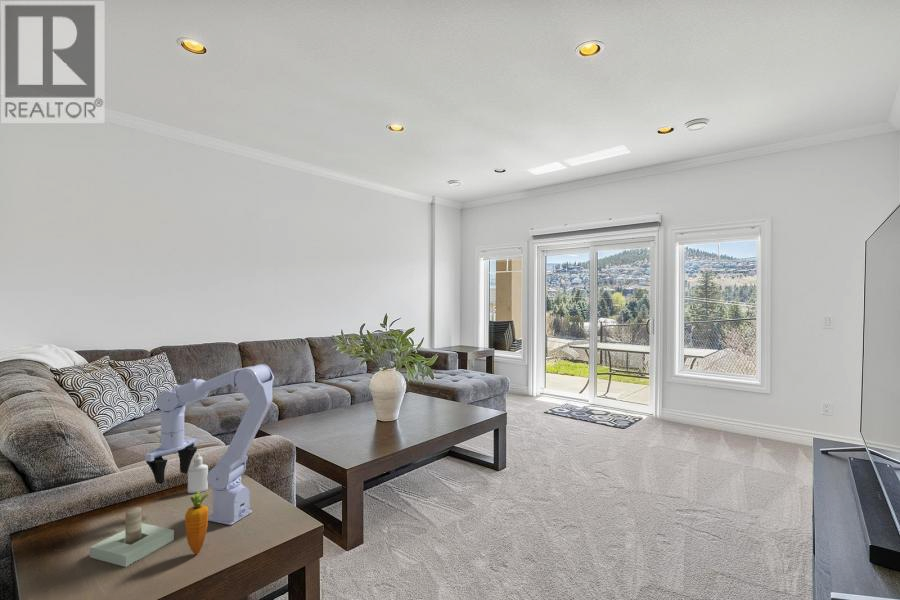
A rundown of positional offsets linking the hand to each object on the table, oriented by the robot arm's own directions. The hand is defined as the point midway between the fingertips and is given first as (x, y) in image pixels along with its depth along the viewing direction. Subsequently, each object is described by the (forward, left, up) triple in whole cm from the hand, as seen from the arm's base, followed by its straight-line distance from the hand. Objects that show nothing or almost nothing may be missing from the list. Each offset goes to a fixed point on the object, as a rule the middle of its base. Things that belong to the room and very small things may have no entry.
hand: (172, 477), depth 124 cm
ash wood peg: (-7, +16, -10) cm, 20 cm away
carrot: (-24, +13, -11) cm, 29 cm away
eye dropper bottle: (+6, -14, -11) cm, 19 cm away
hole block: (-7, +16, -10) cm, 20 cm away
